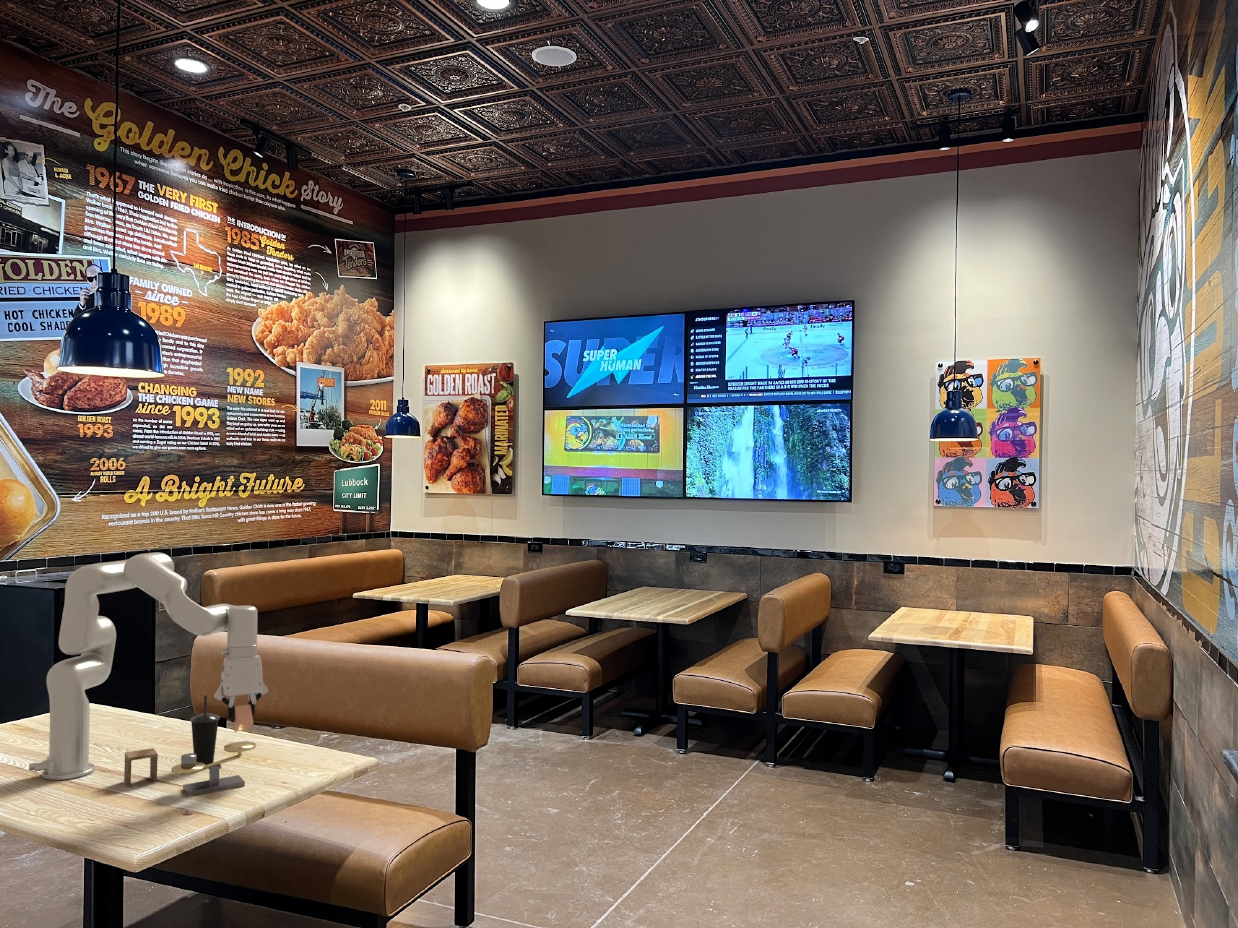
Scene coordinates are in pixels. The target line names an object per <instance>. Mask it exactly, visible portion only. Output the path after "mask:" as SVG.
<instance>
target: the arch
mask: <svg viewBox="0 0 1238 928" xmlns="http://www.w3.org/2000/svg"><path fill="white" fill-rule="evenodd" d="M143 759H150V760H149V761H150V764H149V778H150V777H151V778H150V779H151V781H152V780H153V781H152V782H153V783H154V782H158V752H157V751H156V749H155V748H153V747H152V748H146V749H139V750H138V749H137V750H132V751H125V752H124V779H123V781H124V784H125V786H126V787H127V788H131V786H132V762H133V761H137V760H143Z"/></svg>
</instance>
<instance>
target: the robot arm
mask: <svg viewBox="0 0 1238 928" xmlns="http://www.w3.org/2000/svg"><path fill="white" fill-rule="evenodd" d="M135 588H139V589H140V590H142V591H143V592H145V594H148V595H149V596H150V597H152V598H153V599H154V600H157V601H158V602H160V603H161V604H163V606H164V608H165V611H166V612H167V614H168V616H169V618H170V619H171V620H172V621H173V622H174V623H176V624H177V625H178V626H180V627H181V628H182V629H184V630H186V631H187V632H190V633H191V634H194V635H196V636H200V637H206V636H210V635H214V634H217V633H220V632H227V633H226V634H227V635H226V637H227V638H226V648H224V649H221V655H223V656H226V657H224V660H223V664H222V670H221V676H220V677H221V678H220V685H219V687H218V688H217V690H216V691H215V693H214V694H213V697H214V698H215V699H216V700H218V701H220V702H223V704H225V705H226V706H227V719H229V721H230V722H232V723H233V722H234V721H235V704H234V703H235V699H236V697H241V696H248V702H247V703H246V705H249V704H250V706H251V712H252V718H253V719H254V716H255V714H256V712H255V711H256V704H257V702H258V701H259V699H261V698H262V697H263V696H264V695H266V694H267V693H268V692H269V689H268V686H267V685H266V684H265V683H264V678H263V677H264V676H263V666H262V665H263V663H262V658H261V655H259V654H258V608H257V607H255V606H253V605H235V604H234V605H233V604H229V603H217V604H212V605H208V606H204V607H203V606H201V605H200V604H198V603H196V602H195V601H194V600H192V599H191V598H189V597H188V596H187V594H186V593H185V592H186V591H187V588H188V582H187V579H186V578H185V577H183V576H181V575H180V574H178V573H177V572H175V563H174V561H173V560H172V558H171V557H170V556H169V555H167V554H166V553H163V552H148V553H147V552H146V553H139V554H136V555H134V556H132V557H130V558H129V559H128V558H127V559H124V560H115V561H107V562H97V563H93V564H87V565H84V566H81V567H79V568H77V569H75V570H74V571H73V572H72V573H70V575H69V577H68V579H67V580H66V583H65V588H64V605H63V611H62V616H61V617H62V618H61V624H60V630H59V635H58V647H59V649H60V651H61V652H62V653H64V654H65V655H70V656H75V657H71V658H67V659H64V660H61V661H59V662H57V663H55V664H53V666H51V668H49V670H48V672H47V675H46V689H47V693H48V699H49V741H48V742H49V743H48V746H49V747H48V751H49V752H48V756H47V757H46V759H45V760H42V762H41V761H40V762H31V763H29V764H28V772H32V771H34V772H40V771H42V772H41V777H42V778H43V779H46V780H53V781H61V780H69V779H75V778H77V779H78V778H81V777H83V776H84V777H85V776H87V775H89V774H91V773H93V772H94V771H95V770H96V765H95V764H94V763H92V762H90V761H89V760H90V759H89V757H90V755H89V754H90V723H91V722H90V714H91V711H90V710H91V709H90V707H91V705H90V701H89V699H88V697H87V695H86V692H85V690H88V689H90V688H93V687H97V686H99V685H101V684H103V683H104V682H106V680H107V679H108V678H109V675H110V674H111V671H112V666H113V659H114V653H115V647H116V641H117V631H116V627H115V625H114V623H113V621H112V620H111V619H110V618H108V617H107V616H102V615H99V612H100V603H99V602H100V601H99V599H98V596H97V595H100V594H101V595H102V594H109V593H115V592H120V591H126V590H127V591H128V590H130V589H135ZM77 655H79V656H77ZM222 694H223V695H222Z"/></svg>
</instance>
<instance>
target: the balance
mask: <svg viewBox="0 0 1238 928" xmlns="http://www.w3.org/2000/svg"><path fill="white" fill-rule="evenodd" d="M256 747H257V743H256V742H254V741H245V740H244V741H236V742H235V741H234V742H231V743H228V744H225V745H224V746H223V750H224V751H225V752H227V753H237V754H235V755H233V756H230V757H229V756H228V757H227V758H223V759H221V760H217V761H214V762H213V763H211V764H208V765H205V764H204V763H200V762H196V754H194V752H191V753H184V754H181V756H180V763H179V764H176V765H174V766H172V767H171V773H172V774H176V775H192V774H195V773H198V772H202V771H204V770H207V769H208V770H209V775H208V776H209V779H208V780H203V781H195V782H193V783H186V784H182V790H183V792H184V793H185V792H186V793H187V794H186V793H185V794H186V795H187V797H190V796H189V795H193V796H197V795H203V794H202V793H204V794H208V792H209V793H214V792H218V791H219V790H220V791H224V789H226V790H228V789H227V788H231V789H235V788H234V787H237V788H242V787H245V786H246V784H245V783H246V781H245V779H243V778H242V777H241V776H240V775H239V774H238V775H232V776H226V777H220V769H222V764H225V763H228V762H232V761H235V760H237V759H240V758H241V757H242V756H243V754H242V753H244V752H248V751H251V750H254V749H256ZM200 793H201V794H200Z"/></svg>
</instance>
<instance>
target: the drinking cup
mask: <svg viewBox="0 0 1238 928" xmlns="http://www.w3.org/2000/svg"><path fill="white" fill-rule="evenodd" d="M203 697H204V700H203V712H202V713H200V714H197V715H195V716H193V717H191V718H190V723H191V732H192V733H191V736H192V748H193V753H194V754H196V762H200V763H204V764H205V765H208V764H211V763H214V762H215V761H214V760H215V751H216V743H217V733H218V727H219V726H218V724H219V720H220V719H221V718H220V716H219V715H218V714H214V713H212V712H211V713H210V712H209V713H208V712H207V709H208V708H207V706H208V705H207V704H208V702H207V701H208V696H207V695H204V696H203Z"/></svg>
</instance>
